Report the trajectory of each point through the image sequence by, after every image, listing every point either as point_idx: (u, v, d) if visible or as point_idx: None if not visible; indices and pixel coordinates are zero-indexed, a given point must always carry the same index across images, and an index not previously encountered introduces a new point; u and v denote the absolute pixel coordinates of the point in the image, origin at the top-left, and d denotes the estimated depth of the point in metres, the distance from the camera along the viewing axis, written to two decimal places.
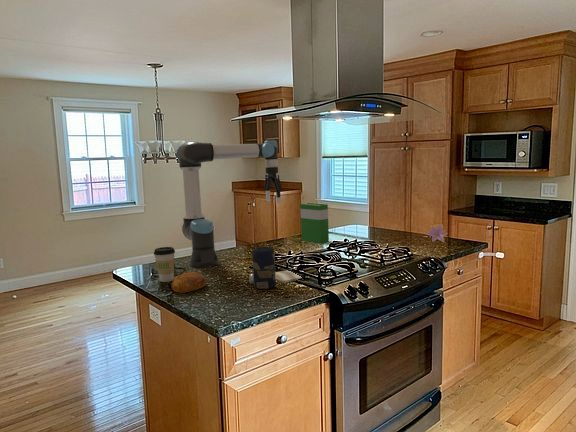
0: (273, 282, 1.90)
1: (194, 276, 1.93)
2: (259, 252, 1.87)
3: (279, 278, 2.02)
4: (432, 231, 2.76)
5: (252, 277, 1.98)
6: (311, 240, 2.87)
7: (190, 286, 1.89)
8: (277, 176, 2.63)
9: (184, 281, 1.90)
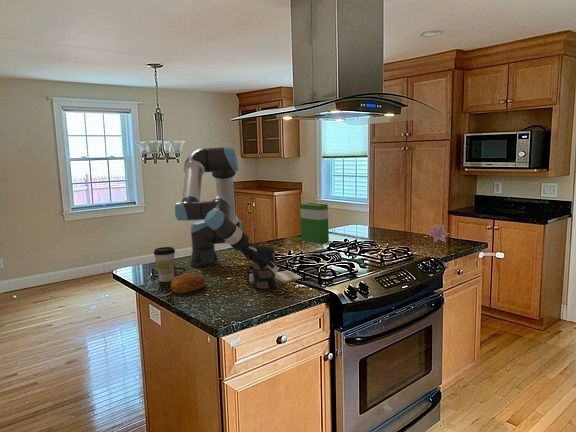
0: (273, 282, 1.90)
1: (192, 277, 1.92)
2: None
3: (279, 278, 2.02)
4: (433, 231, 2.75)
5: (252, 277, 1.98)
6: (311, 240, 2.87)
7: (189, 286, 1.89)
8: None
9: (182, 281, 1.89)
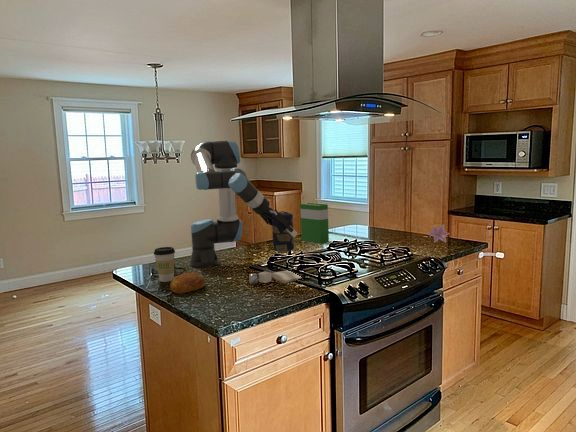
0: (292, 246, 2.00)
1: (192, 277, 1.92)
2: None
3: (279, 278, 2.02)
4: (434, 231, 2.74)
5: (252, 277, 1.98)
6: (311, 240, 2.87)
7: (188, 287, 1.89)
8: None
9: (182, 282, 1.89)
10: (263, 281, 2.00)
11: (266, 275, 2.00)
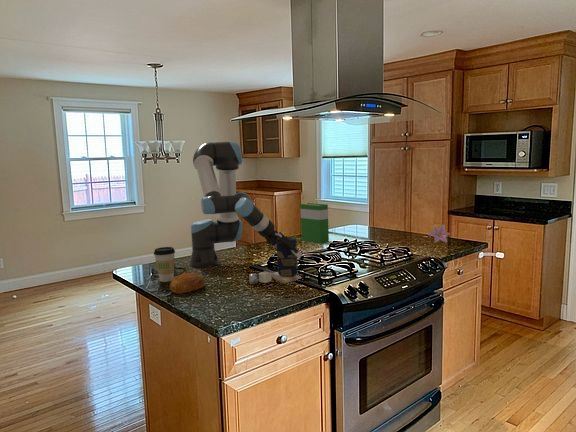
0: (296, 270, 2.05)
1: (191, 277, 1.92)
2: None
3: (279, 278, 2.02)
4: (434, 231, 2.74)
5: (252, 277, 1.98)
6: (311, 240, 2.87)
7: (188, 287, 1.88)
8: None
9: (182, 282, 1.89)
10: (263, 281, 2.00)
11: (266, 275, 2.00)
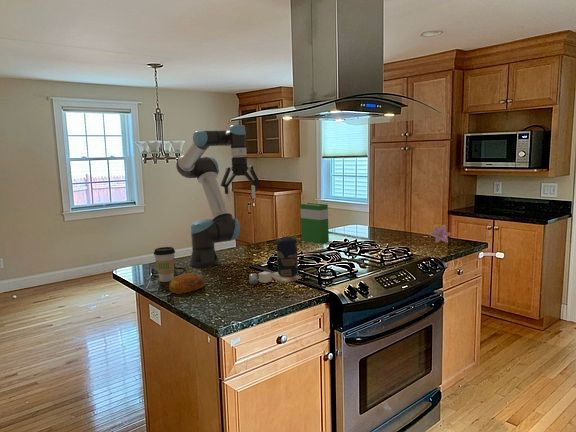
0: (296, 270, 2.05)
1: (191, 277, 1.92)
2: (283, 242, 2.02)
3: (279, 278, 2.02)
4: (435, 232, 2.73)
5: (252, 277, 1.98)
6: (311, 240, 2.87)
7: (187, 287, 1.88)
8: (226, 168, 2.20)
9: (181, 282, 1.88)
10: (263, 281, 2.00)
11: (266, 275, 2.00)
